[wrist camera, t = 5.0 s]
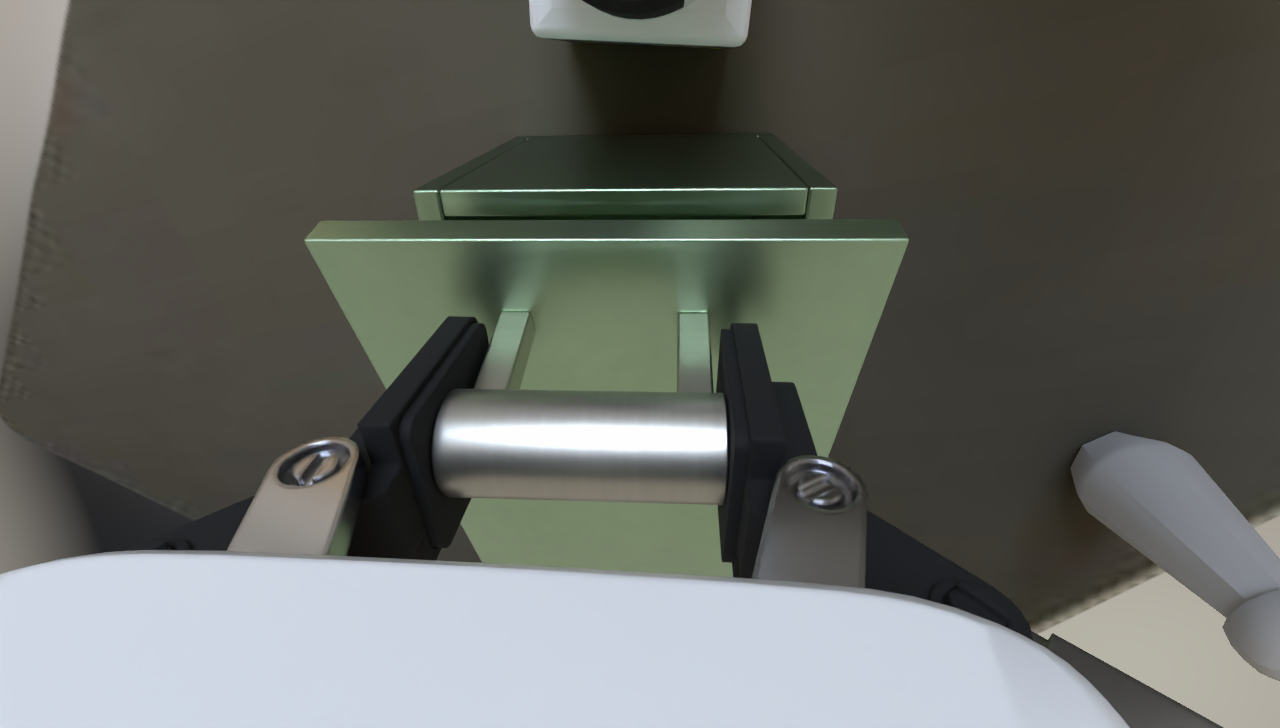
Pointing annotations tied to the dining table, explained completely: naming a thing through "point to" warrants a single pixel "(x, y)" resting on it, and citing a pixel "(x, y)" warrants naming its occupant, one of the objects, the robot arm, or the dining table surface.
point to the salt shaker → (1187, 534)
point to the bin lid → (610, 363)
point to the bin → (631, 180)
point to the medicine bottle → (643, 22)
